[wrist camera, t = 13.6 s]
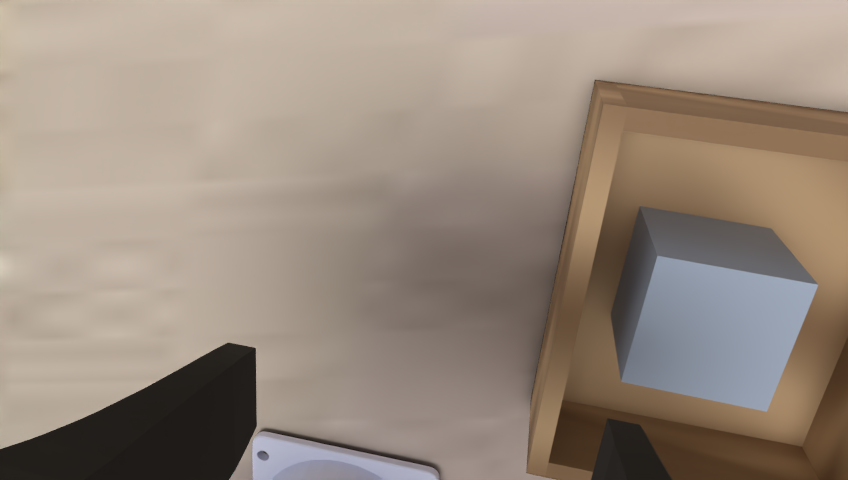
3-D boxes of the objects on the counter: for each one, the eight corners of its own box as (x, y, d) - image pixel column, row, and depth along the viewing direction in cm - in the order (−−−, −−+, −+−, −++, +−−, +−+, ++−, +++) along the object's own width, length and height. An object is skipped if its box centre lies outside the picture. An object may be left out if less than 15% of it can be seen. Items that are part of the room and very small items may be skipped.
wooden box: (809, 453, 23) (855, 542, 20) (530, 399, 25) (526, 472, 21) (949, 125, 19) (1044, 162, 15) (595, 79, 20) (603, 103, 16)
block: (731, 338, 22) (767, 411, 18) (610, 314, 22) (621, 381, 19) (771, 228, 20) (818, 284, 16) (639, 205, 21) (657, 256, 17)
